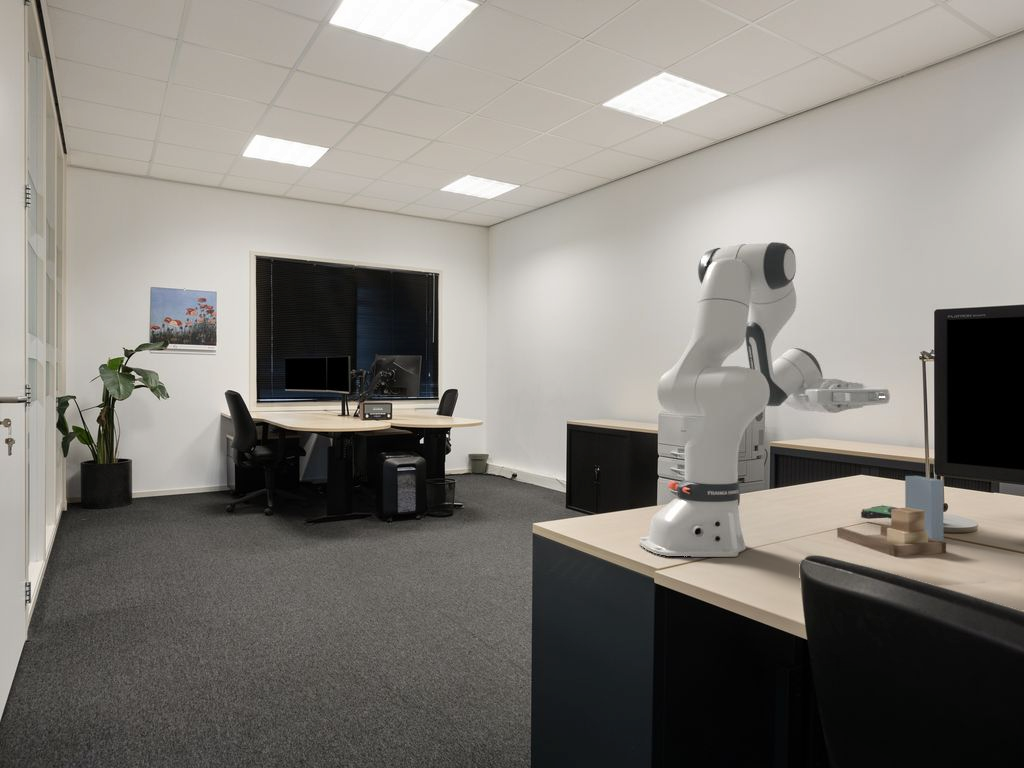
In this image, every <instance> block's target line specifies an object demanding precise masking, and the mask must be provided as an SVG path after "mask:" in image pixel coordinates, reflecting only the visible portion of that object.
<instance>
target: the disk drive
mask: <svg viewBox="0 0 1024 768" xmlns="http://www.w3.org/2000/svg"><path fill="white" fill-rule="evenodd" d="M897 508H898V507H894V506H890V505H889V506H888V505H883V504H882V505H879V506H878V505H877V506H871V508H862V509H861V512H860V517H861V518H863V519H868V520H871V519H872V520H873V519H874V520H875V519H890V520H891V509H897Z"/></svg>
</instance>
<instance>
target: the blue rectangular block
mask: <svg viewBox="0 0 1024 768" xmlns="http://www.w3.org/2000/svg"><path fill="white" fill-rule="evenodd" d="M904 478H905V480H904V482H905V483H904V484H905V486H904V487H905V488H904V489H905V492H904V493H905V495H904V496H905V499H904V500H905V501H904V502H905V505H904V506H905V507H904V508H912V509H917V510H922V511H925V531H927V532H928V538H931V539H934V540H938V541H941V542H944V480H943V479H938V478H931V477H926V476H922V475H905V476H904Z"/></svg>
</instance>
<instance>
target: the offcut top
mask: <svg viewBox="0 0 1024 768" xmlns="http://www.w3.org/2000/svg"><path fill="white" fill-rule="evenodd" d="M896 508H897V509H891V519H890V522H891V524H890V527H891V529H895V530H899V531H904V532H908V533H910V532H918V531H925V511H922V510H917V509H912V508H905V507H896Z"/></svg>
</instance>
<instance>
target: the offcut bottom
mask: <svg viewBox="0 0 1024 768" xmlns="http://www.w3.org/2000/svg"><path fill="white" fill-rule="evenodd" d="M887 542H888V543H891V544H911V543H927V542H928V532H927V531H918V532H910V533H908V532H904V531H899V530H895V529H891V528H887Z"/></svg>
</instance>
